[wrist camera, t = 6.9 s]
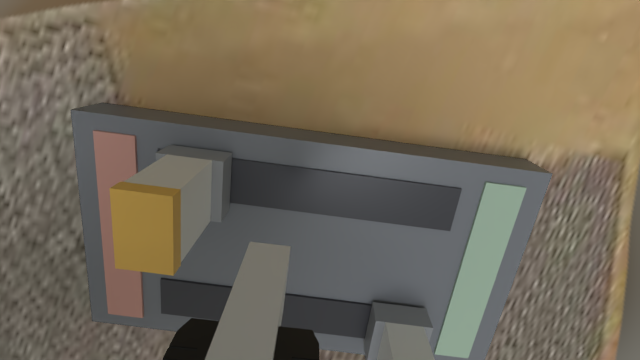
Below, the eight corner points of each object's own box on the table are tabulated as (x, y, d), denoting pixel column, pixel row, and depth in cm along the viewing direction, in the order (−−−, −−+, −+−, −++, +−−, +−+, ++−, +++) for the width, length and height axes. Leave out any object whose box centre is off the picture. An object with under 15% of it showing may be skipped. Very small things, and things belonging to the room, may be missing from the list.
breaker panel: (115, 294, 29) (17, 405, 20) (101, 102, 24) (-39, 134, 15) (466, 338, 29) (527, 466, 20) (526, 159, 24) (642, 223, 15)
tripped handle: (170, 202, 22) (102, 266, 16) (169, 143, 21) (95, 186, 14) (229, 210, 22) (186, 277, 16) (232, 152, 21) (186, 198, 14)
